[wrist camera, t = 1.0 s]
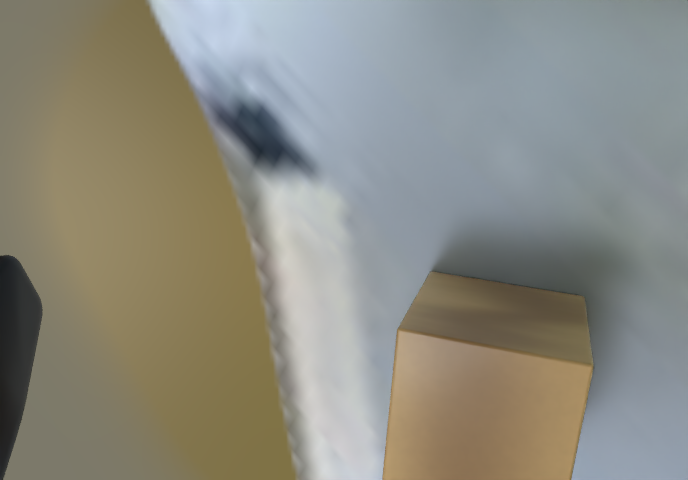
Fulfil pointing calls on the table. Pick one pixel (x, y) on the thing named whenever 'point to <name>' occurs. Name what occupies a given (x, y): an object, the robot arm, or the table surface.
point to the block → (488, 383)
